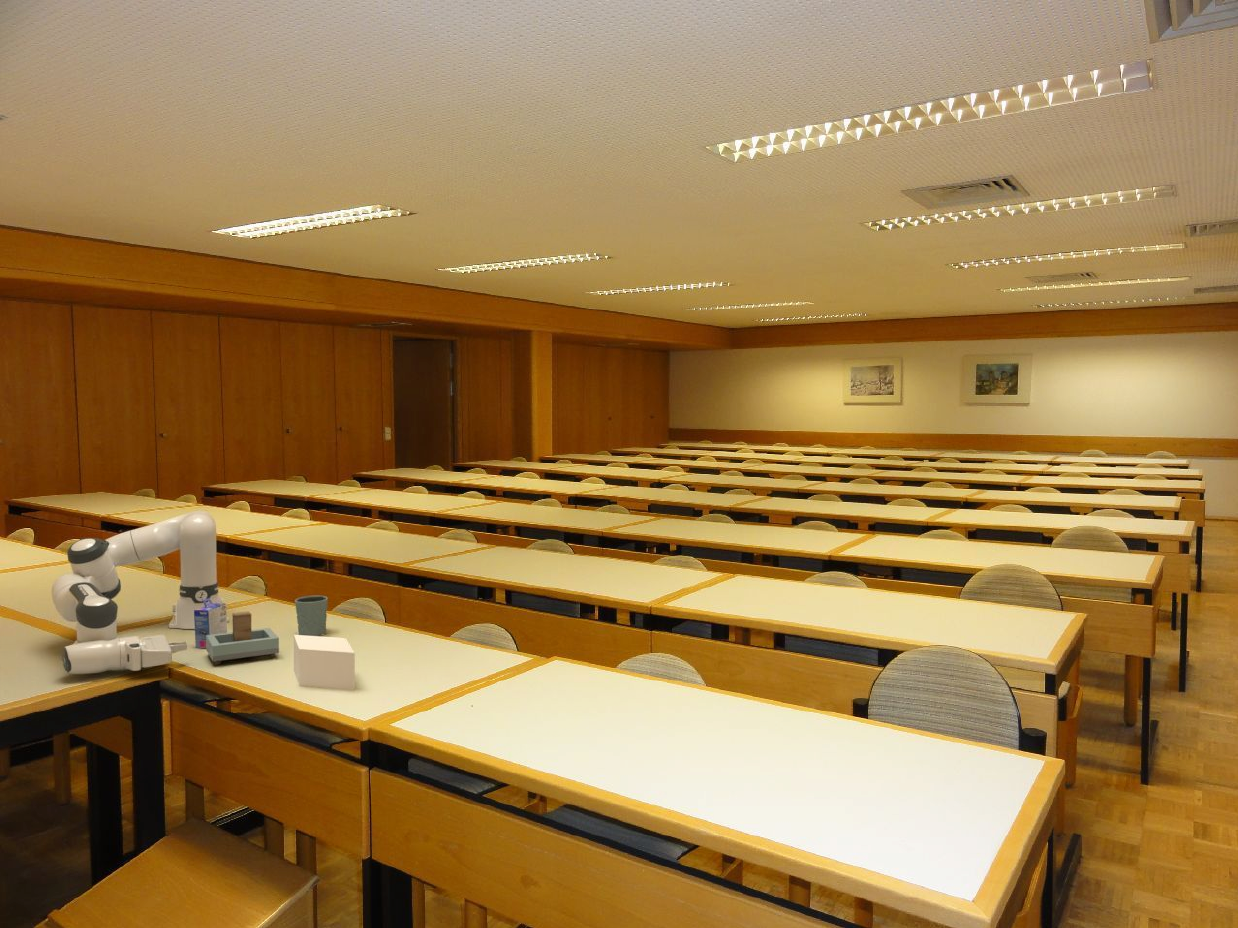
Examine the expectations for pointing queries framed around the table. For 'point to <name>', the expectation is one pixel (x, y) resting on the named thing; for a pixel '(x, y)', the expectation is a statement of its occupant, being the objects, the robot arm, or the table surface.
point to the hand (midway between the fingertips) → (186, 645)
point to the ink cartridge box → (209, 621)
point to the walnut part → (241, 626)
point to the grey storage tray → (242, 645)
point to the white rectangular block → (324, 662)
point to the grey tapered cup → (311, 615)
